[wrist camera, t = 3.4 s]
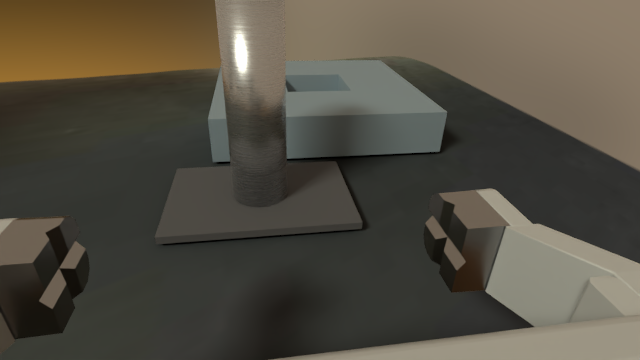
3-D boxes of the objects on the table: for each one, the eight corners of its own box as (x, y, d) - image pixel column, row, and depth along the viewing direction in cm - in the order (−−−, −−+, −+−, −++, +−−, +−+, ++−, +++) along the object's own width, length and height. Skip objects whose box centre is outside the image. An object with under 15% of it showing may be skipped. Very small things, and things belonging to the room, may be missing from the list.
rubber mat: (156, 244, 19) (154, 237, 18) (178, 174, 25) (177, 168, 24) (361, 228, 20) (362, 222, 20) (335, 166, 26) (335, 160, 26)
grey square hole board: (212, 162, 26) (208, 119, 25) (224, 91, 40) (221, 61, 39) (439, 151, 29) (447, 112, 27) (377, 88, 42) (379, 60, 41)
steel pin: (232, 209, 21) (212, 0, 16) (234, 181, 23) (217, -7, 18) (289, 205, 21) (287, 1, 16) (285, 178, 24) (281, -6, 19)
